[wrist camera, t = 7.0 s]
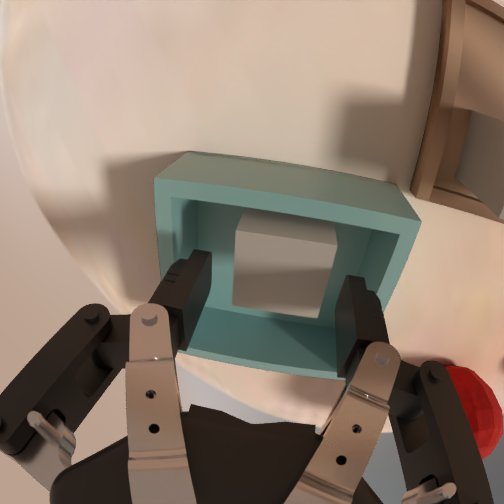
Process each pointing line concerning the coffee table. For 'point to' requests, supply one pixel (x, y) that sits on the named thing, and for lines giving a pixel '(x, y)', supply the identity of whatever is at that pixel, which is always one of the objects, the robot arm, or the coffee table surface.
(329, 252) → the matte taupe cube
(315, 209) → the teal open box
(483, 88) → the tray
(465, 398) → the apple
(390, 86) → the coffee table surface
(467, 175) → the block
